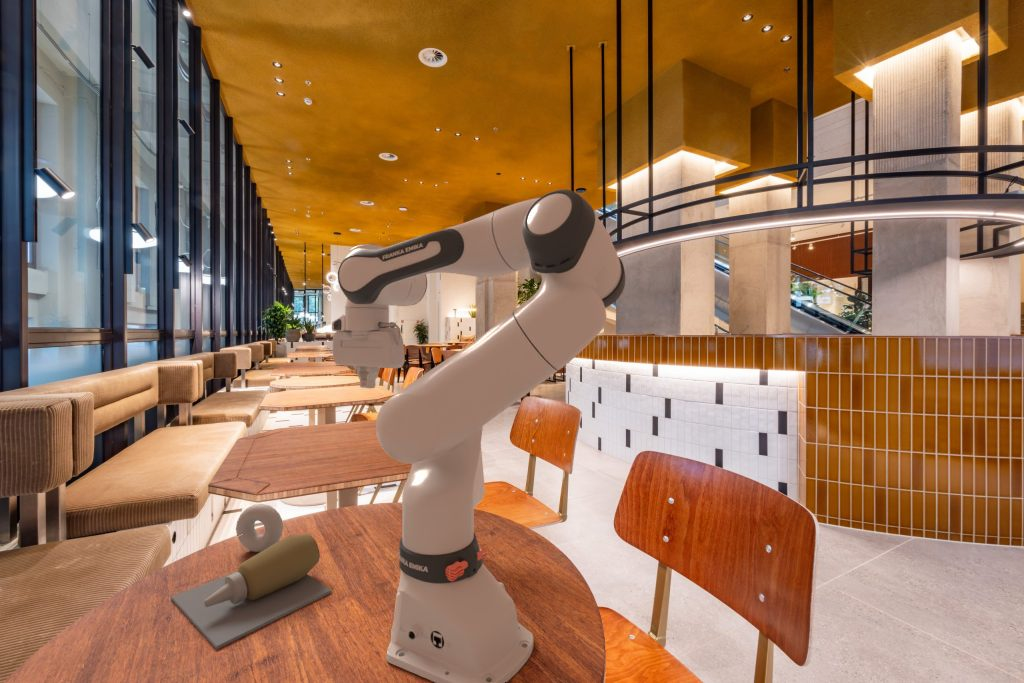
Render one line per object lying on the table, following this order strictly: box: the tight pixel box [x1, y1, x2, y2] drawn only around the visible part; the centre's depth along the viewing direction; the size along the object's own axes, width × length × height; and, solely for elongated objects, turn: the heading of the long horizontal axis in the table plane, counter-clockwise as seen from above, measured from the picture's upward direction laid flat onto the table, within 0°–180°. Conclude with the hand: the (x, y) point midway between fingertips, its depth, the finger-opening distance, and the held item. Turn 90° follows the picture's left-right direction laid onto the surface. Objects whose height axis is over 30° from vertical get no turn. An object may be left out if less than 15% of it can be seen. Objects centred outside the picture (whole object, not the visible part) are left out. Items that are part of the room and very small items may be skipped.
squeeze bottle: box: [204, 533, 321, 607], centre depth 77 cm, size 8×8×18 cm
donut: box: [235, 503, 284, 553], centre depth 93 cm, size 10×4×10 cm, turn 83°
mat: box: [170, 571, 333, 650], centre depth 77 cm, size 20×18×1 cm
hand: (367, 387), depth 93 cm, fingers closed
